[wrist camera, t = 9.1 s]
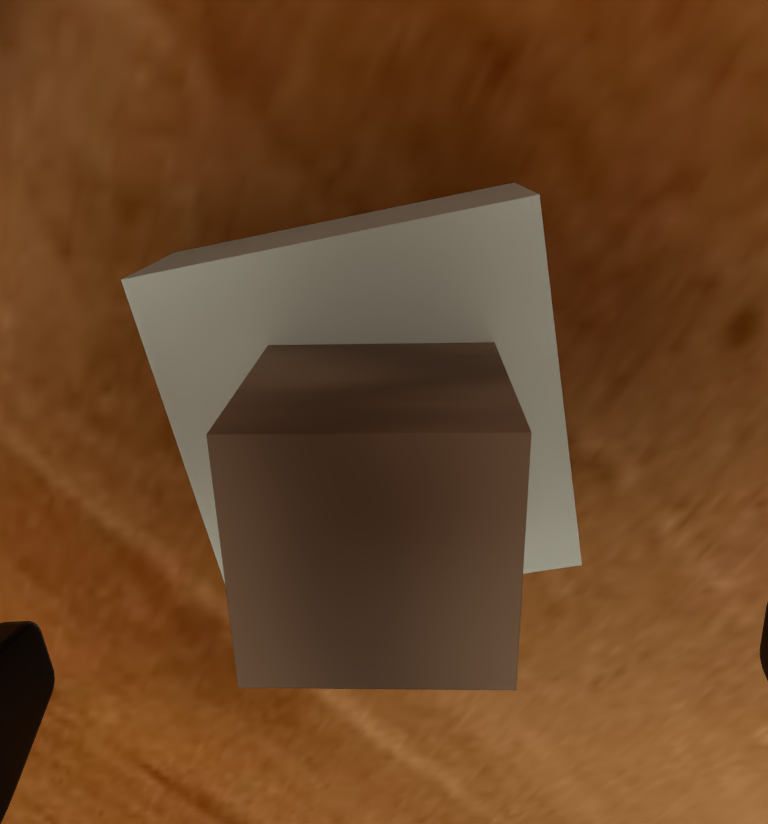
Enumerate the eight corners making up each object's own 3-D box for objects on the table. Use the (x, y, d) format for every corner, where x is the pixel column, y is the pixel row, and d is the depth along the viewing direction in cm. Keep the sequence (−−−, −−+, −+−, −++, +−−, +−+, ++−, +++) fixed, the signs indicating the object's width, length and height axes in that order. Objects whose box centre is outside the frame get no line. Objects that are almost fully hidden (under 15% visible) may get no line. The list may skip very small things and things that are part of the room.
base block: (512, 181, 18) (539, 194, 14) (551, 488, 21) (582, 565, 17) (178, 250, 19) (120, 279, 15) (265, 533, 22) (235, 615, 18)
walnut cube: (494, 342, 15) (531, 433, 11) (487, 539, 17) (515, 690, 12) (267, 344, 15) (205, 434, 11) (284, 539, 17) (238, 687, 13)
